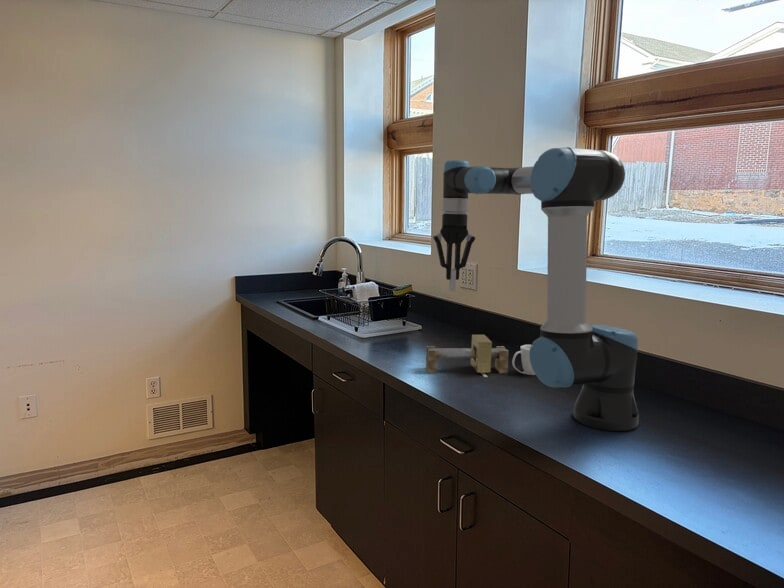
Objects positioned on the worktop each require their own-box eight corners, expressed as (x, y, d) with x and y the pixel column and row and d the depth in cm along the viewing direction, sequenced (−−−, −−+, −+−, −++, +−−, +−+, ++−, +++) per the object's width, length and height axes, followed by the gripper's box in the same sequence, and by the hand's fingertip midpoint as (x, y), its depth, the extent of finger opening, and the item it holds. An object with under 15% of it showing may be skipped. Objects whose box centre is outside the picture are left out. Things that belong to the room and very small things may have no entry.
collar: (483, 363, 191) (484, 334, 189) (490, 372, 182) (491, 342, 180) (470, 363, 190) (471, 334, 189) (477, 372, 181) (478, 342, 180)
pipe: (503, 356, 188) (504, 346, 187) (506, 360, 184) (507, 349, 184) (427, 357, 186) (427, 346, 185) (429, 360, 182) (429, 349, 182)
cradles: (502, 367, 190) (503, 345, 189) (507, 373, 184) (508, 351, 183) (425, 367, 188) (426, 345, 186) (428, 373, 182) (429, 351, 180)
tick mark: (477, 363, 193) (477, 363, 193) (487, 377, 179) (487, 376, 179) (474, 363, 193) (474, 363, 193) (484, 377, 179) (484, 376, 179)
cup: (546, 375, 183) (548, 349, 182) (518, 378, 179) (520, 351, 178) (533, 368, 189) (534, 343, 188) (505, 371, 186) (507, 346, 184)
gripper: (473, 212, 185) (470, 288, 189) (431, 212, 184) (429, 288, 188) (479, 213, 178) (475, 292, 182) (435, 213, 177) (433, 292, 181)
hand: (452, 290), depth 185 cm, fingers closed
